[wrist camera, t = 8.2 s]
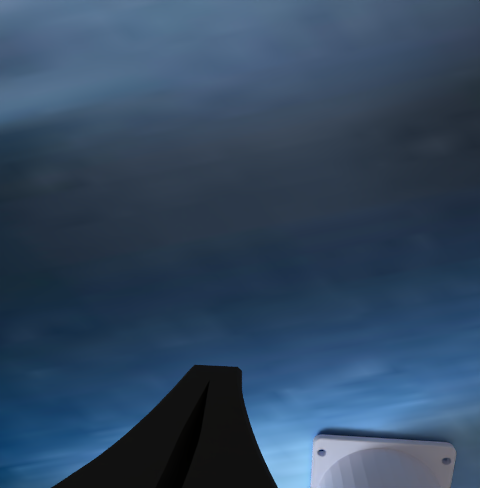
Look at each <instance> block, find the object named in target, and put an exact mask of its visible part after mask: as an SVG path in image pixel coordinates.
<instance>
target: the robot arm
mask: <svg viewBox="0 0 480 488" xmlns="http://www.w3.org/2000/svg"><path fill="white" fill-rule="evenodd" d="M320 449H323V450H324V451H318V450H320ZM443 458H447V459H443ZM455 460H456V450H455V448H454V446H453V445H452V444H450V443H447V442H434V441H418V440H403V439H387V438H371V437H355V436H339V435H324V434H321V435H317V436H315V438H314V439H313V451H312V469H311V486H310V488H450V487H451V482H452V476H453V471H454V465H455ZM51 488H278V487H277V485H276V483H275V481H274V479H273V477H272V475H271V473H270V471H269V469H268V467H267V465H266V463H265V461H264V458H263V456H262V454H261V452H260V449H259V447H258V444H257V441H256V439H255V436H254V433H253V431H252V428H251V425H250V422H249V418H248V415H247V411H246V407H245V404H244V399H243V394H242V371H241V370H240V369H239V368H238V367H228V366H207V365H194V366H193V367H192V368H191V369H190V370H189V371H188V372H187V373H186V375H185V376H184V377H183V378H182V379H181V380H180V381H179V382H178V384H177V385H176V386H175V387H174V388H173V389H172V390H171V391H170V392H169V393H168V394H167V395H166V396H165V397H164V398H163V399H162V401H161V402H160V403H159V404H158V405H157V406H156V407H155V408H154V409H153V410H152V411H151V412H150V413H149V414H148V415H146V416H145V417H144V418H143V419H142V420H141V421H140V422H139V423H138V424H137V425H136V426H134V427H133V428H132V429H131V430H130V431H129V432H128V433H127V434H126V435H124V436H123V437H122V438H121V439H120V440H118V441H117V442H116V443H115V444H114V445H112V446H111V447H110V448H109V449H107V450H106V451H105V452H103V453H102V454H101V455H99V456H98V457H97V458H95V459H94V460H92V461H91V462H90V463H88V464H87V465H85V466H84V467H82V468H81V469H79V470H77V471H76V472H74V473H73V474H71V475H70V476H68V477H67V478H65V479H64V480H62V481H61V482H59V483H58V484H56V485H55V486H53V487H51Z"/></svg>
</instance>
